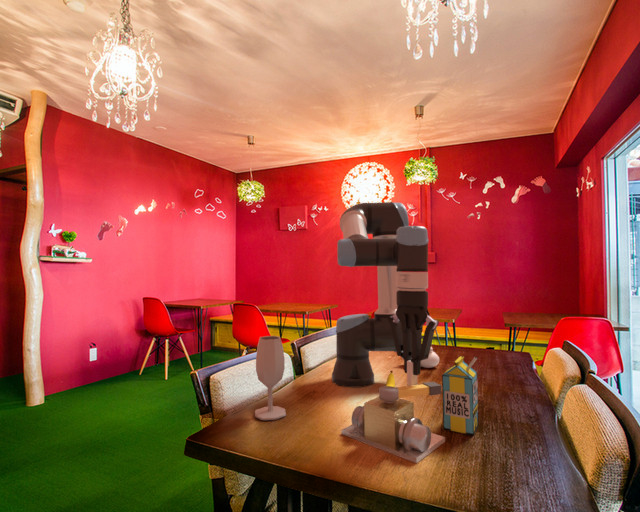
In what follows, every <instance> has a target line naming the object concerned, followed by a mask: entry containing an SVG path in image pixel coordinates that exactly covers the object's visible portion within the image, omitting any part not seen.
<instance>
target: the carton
mask: <svg viewBox="0 0 640 512" xmlns="http://www.w3.org/2000/svg"><path fill="white" fill-rule="evenodd" d="M464 358H465V356H459V357H458V358H457V359H456V360H454V365H452V366H450V367H449V368H448V369H446V371H445V372H444V373H442V375H441V380H442V382H441V383H442V384H441V393H442V426H443V427H442V428H443V429H442V430H443V431H448V432H451V433H452V432H453V433H457V434H462V435H466V436H471V437H474V436H475V434H476V432H477V429H478V428H479V400H478V399H479V394H478V388H479V387H478V386H479V385H478V372H477V370H475V369H474V368H472V367H473V366H474V364H475V363H476V361H478V357H476V356H474V357H473V359H472V360H471V361H470V363H466V362H465V361H464Z"/></svg>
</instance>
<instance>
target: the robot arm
mask: <svg viewBox="0 0 640 512" xmlns="http://www.w3.org/2000/svg"><path fill="white" fill-rule="evenodd" d="M408 214H409V213H408V211H407V208H406V206H405V204H403V203H402V202H393V201H389V202H384V201H383V202H361V203H356V204H354V205H352V206H350V207H349V208H347V209H345V211H344V212H343V213H342V214H341V216H340V217H339V227H340V231H341V232H342V237H343V238H341V239H339V240H338V241H337V243H336V244H337V245H336V246H337V249H336V251H337V265H339V266H340V267H349V268H353V267H355V268H356V267H377V304H378V305H377V306H378V308H377V309H376V310H375V311H374V317H370V316H369V314H367V313H358V314H349V315H345V316H342V317H339V318H338V319H337V320H336V327H335V334H336V337H335V338H336V340H335V341H336V342H335V343H336V350H335V351H336V360H335V363H334V366H333V370H332V373H331V382H332V383H333V384H335V385H338V386H342V387H346V388H347V387H349V388H355V387H356V388H358V387H367V386H370V385H372V384H374V383H375V374H374V371H373V367H372V365H371V362H370V352H394V353H396V355H397V356H398V357H401V359H402V358H403V359H404V360H403V359H402V360H403V371H404V373H405V374H406V386H412V385H419V384H418V383H419V382H418V378H419V377H418V376H419V375H420V374H421V372H422V371H421V369H422V367H421V360H425V359H427V358H428V356H429V352H430V348H431V347H432V343H433V338H434V335H435V331H436V329H437V327H438V326H439V320H437V319H434V318H432V316H430V314H431V313H430V312H429V310H428V308H429V292H428V291H427V289H428V288H429V272H428V271H429V269H428V268H429V241H430V239H429V237H428V236H429V235H428V234H429V233H428V229H427V227H425V226H422V225H421V226H420V225H410V224H409V223H410V222H409V221H410V219H409V215H408ZM368 235H372V238H369V236H368ZM424 325H425V326H426V327H425V329H423V327H424ZM423 330H424V334H423V335H422V333H423ZM422 336H423V337H422Z"/></svg>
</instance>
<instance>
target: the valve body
mask: <svg viewBox="0 0 640 512" xmlns="http://www.w3.org/2000/svg"><path fill="white" fill-rule="evenodd" d="M414 405H415V404H414V401H412V400H407V399H403V398H399V399H398V400H397V401H383V400H381V399H379V396H377V397H374V398H372V399H370V400H368V401H366V402H364V404H363V406H362V405H357V406H356V407H355V408H354V410H353V411H352V413H351V424H349V425H348V426H346V427H344V428H342V429H341V430H340V434H341V435H342V436H345V437H348V438H350V439H353V440H356V441H358V442H361V443H363V444H366V445H369V446H371V447H373V448H376V449H379V450H381V451H384V452H386V453H389V454H391V455H394V456H397V457H399V458H402V459H404V460H406V461H407V460H408V461H410V462H413V463H415V464H418V463H419V462H420V461H421V460H423V459H424V458H426V457H427V456H428V455H429V454H431V453H432V452H434V451H435V450H437V448H439V447H440V446H441V445H443V444H444V443H445V442H446V436H443V435H440V434H437V433H433V432H432V430H431V428H430V427H429V426H427V425H424V424H423V422H422V420H421V419H420V418H417V417H415V415H414V411H415V410H414Z"/></svg>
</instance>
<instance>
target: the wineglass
mask: <svg viewBox="0 0 640 512" xmlns="http://www.w3.org/2000/svg"><path fill="white" fill-rule="evenodd" d="M283 346H284V345H283V342H282V339H281V336H278V335H266V336H265V335H264V336H259V338H258V343H257V348H256V354H255V355H256V356H255V371H256V376H257V380H258V381H259V382H261V383H262V384H263V385H264V386H265V387H266V388H267V406H264V407H261V408H258V409H255V411H254V417H255V418H256V419H258V420H261V421H276V420H279V419H282V418H284V417H286V416H287V413H286V408H283V407H281V406H278V405H273V404H274V403H273V402H274V401H273V399H274V398H273V391H274V390H273V388H274V387H276V385H277V384H279V382H281V381H282V380H283V378H284V374H285V373H284V372H285V369H286V367H285V359H286V358H285V354H284V353H285V351H284V347H283Z"/></svg>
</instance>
